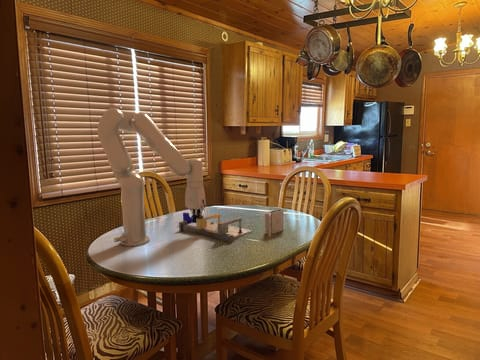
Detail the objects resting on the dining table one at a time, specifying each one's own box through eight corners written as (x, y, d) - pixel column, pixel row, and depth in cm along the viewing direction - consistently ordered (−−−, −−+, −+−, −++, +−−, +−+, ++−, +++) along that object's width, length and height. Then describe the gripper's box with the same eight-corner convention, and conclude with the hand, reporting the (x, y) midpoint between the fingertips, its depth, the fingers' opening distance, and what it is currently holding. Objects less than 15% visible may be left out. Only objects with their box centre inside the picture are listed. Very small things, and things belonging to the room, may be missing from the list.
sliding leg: (200, 233, 170) (199, 216, 169) (196, 233, 171) (196, 216, 170) (221, 227, 181) (221, 210, 180) (218, 226, 183) (218, 210, 181)
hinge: (270, 236, 168) (269, 215, 166) (260, 235, 171) (259, 214, 170) (284, 229, 179) (284, 209, 177) (275, 228, 182) (275, 208, 181)
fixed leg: (221, 239, 161) (221, 223, 160) (217, 238, 162) (217, 223, 161) (243, 231, 172) (242, 217, 171) (239, 231, 173) (239, 216, 172)
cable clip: (195, 218, 205) (195, 208, 204) (202, 219, 203) (201, 209, 202) (181, 223, 195) (180, 212, 194) (187, 224, 193) (187, 213, 192)
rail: (228, 243, 159) (228, 233, 158) (179, 230, 180) (179, 222, 180) (234, 241, 162) (234, 231, 161) (185, 229, 183) (185, 220, 183)
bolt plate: (235, 237, 167) (235, 234, 166) (194, 228, 185) (194, 225, 185) (251, 232, 176) (251, 229, 175) (211, 223, 194) (210, 220, 194)
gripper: (178, 184, 173) (180, 221, 176) (200, 187, 164) (201, 226, 166) (190, 182, 179) (191, 218, 182) (211, 185, 169) (213, 223, 172)
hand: (196, 222), depth 174 cm, fingers closed
